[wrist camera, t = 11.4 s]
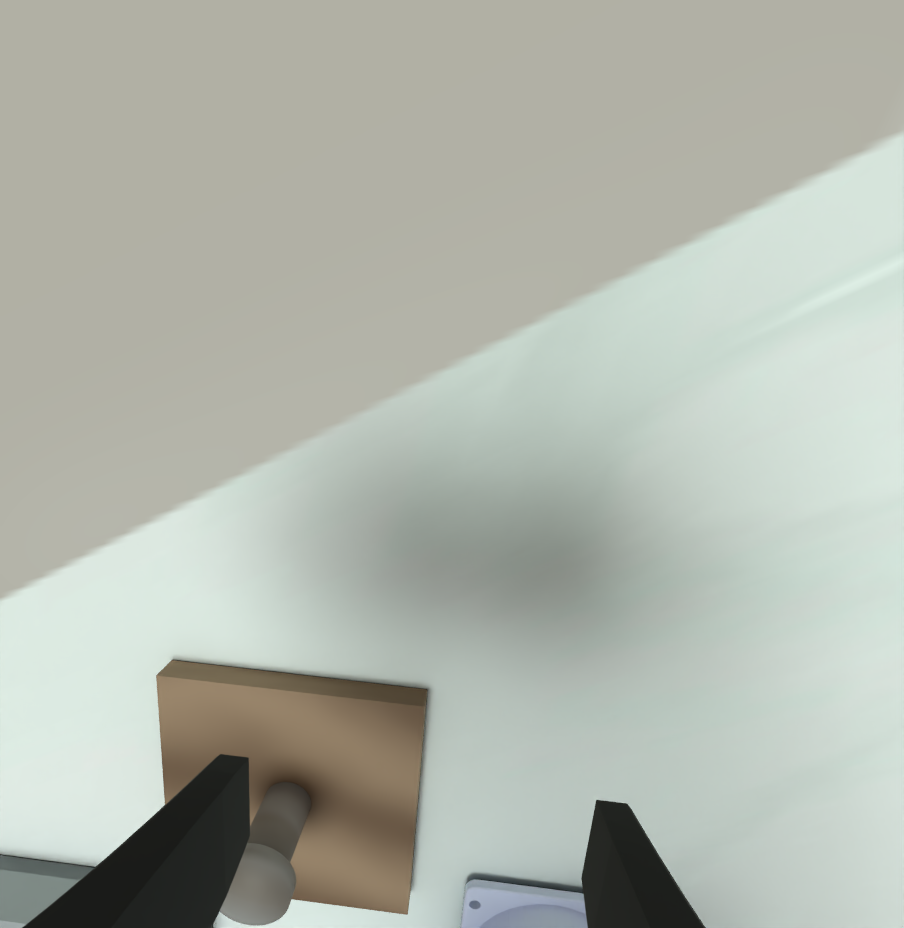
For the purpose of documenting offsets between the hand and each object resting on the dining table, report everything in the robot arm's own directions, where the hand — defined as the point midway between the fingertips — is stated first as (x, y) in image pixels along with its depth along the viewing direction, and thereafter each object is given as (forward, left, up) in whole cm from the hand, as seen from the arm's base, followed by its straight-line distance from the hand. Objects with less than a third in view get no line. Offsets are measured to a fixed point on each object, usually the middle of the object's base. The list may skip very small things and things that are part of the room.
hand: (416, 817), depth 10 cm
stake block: (-10, +6, -9) cm, 15 cm away
